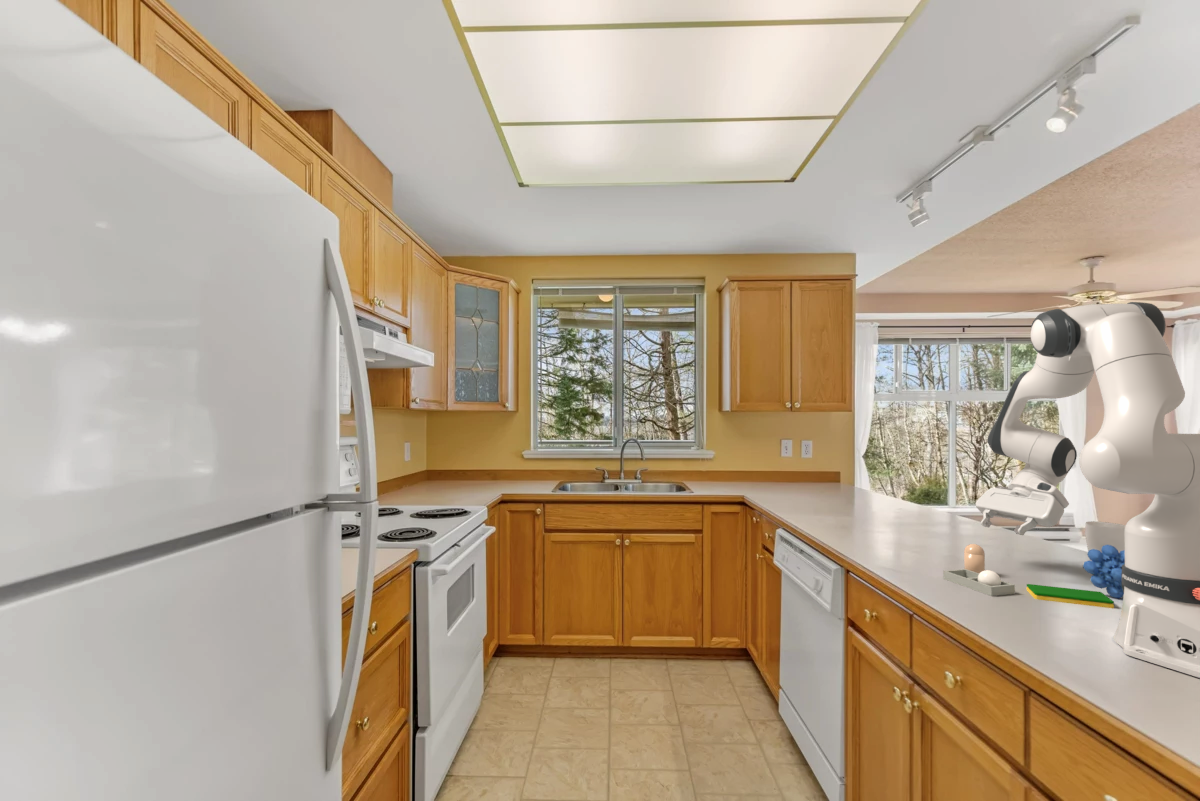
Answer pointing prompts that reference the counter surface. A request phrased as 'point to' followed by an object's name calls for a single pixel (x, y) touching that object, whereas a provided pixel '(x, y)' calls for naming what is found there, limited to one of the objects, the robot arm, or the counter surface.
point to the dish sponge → (1070, 596)
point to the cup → (1104, 535)
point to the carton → (971, 581)
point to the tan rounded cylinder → (974, 558)
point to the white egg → (989, 578)
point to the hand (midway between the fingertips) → (1000, 529)
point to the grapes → (1106, 569)
